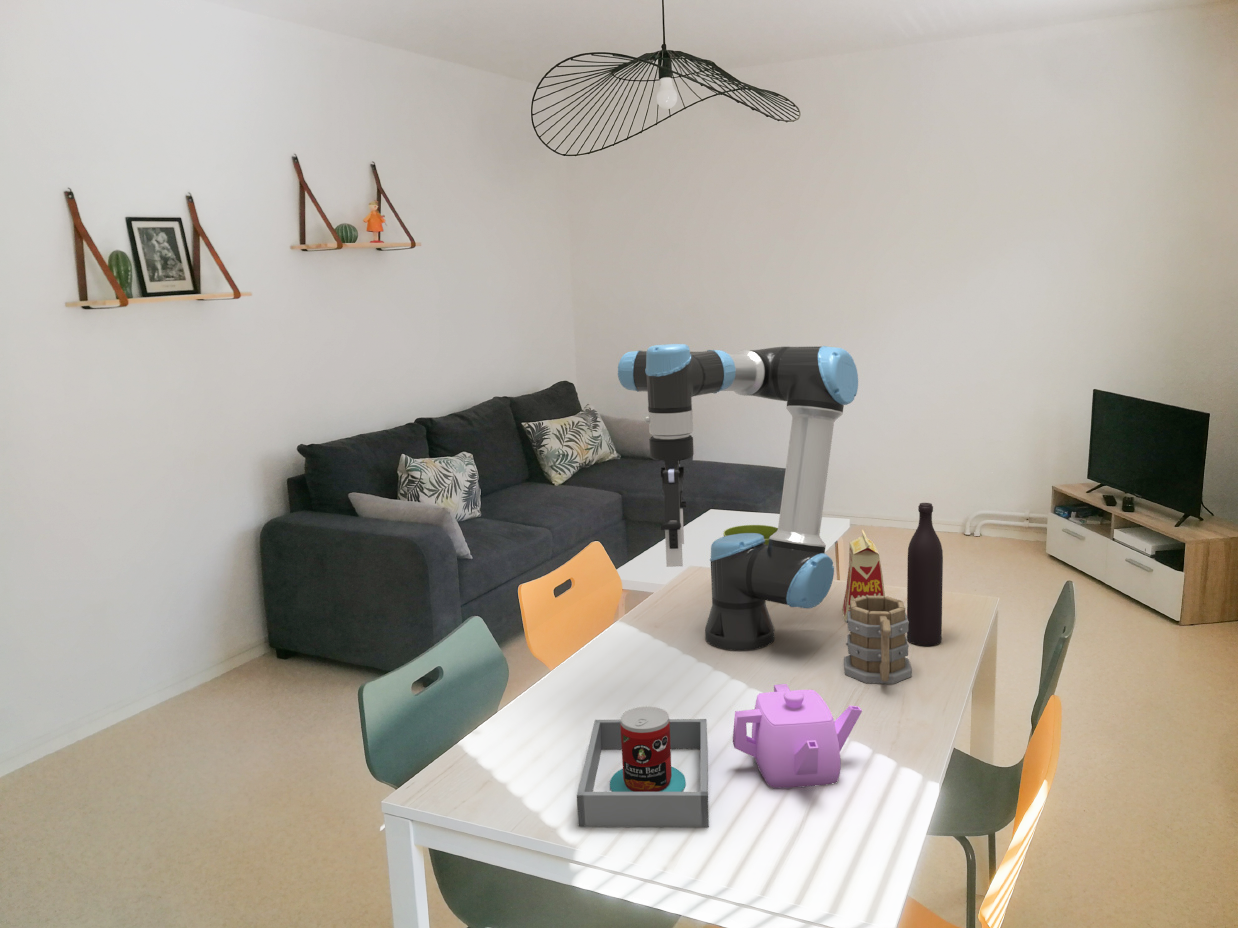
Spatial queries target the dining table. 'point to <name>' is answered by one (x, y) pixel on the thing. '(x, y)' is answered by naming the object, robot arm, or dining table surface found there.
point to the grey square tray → (643, 806)
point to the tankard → (877, 640)
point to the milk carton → (863, 572)
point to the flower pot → (752, 531)
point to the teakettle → (794, 737)
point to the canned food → (646, 749)
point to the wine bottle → (924, 582)
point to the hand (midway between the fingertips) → (675, 554)
